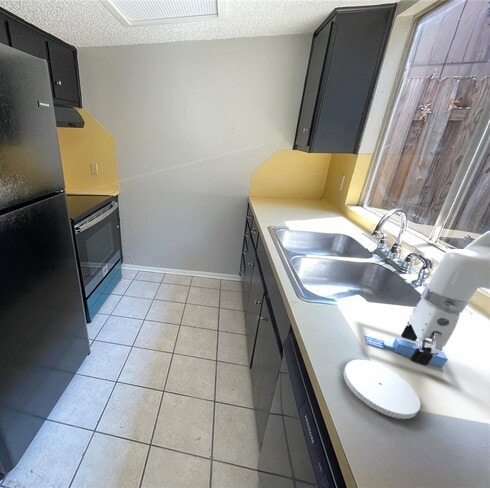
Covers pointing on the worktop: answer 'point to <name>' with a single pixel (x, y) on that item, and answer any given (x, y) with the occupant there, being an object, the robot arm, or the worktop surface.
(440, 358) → the blue brush
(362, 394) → the plastic lid
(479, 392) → the worktop surface
